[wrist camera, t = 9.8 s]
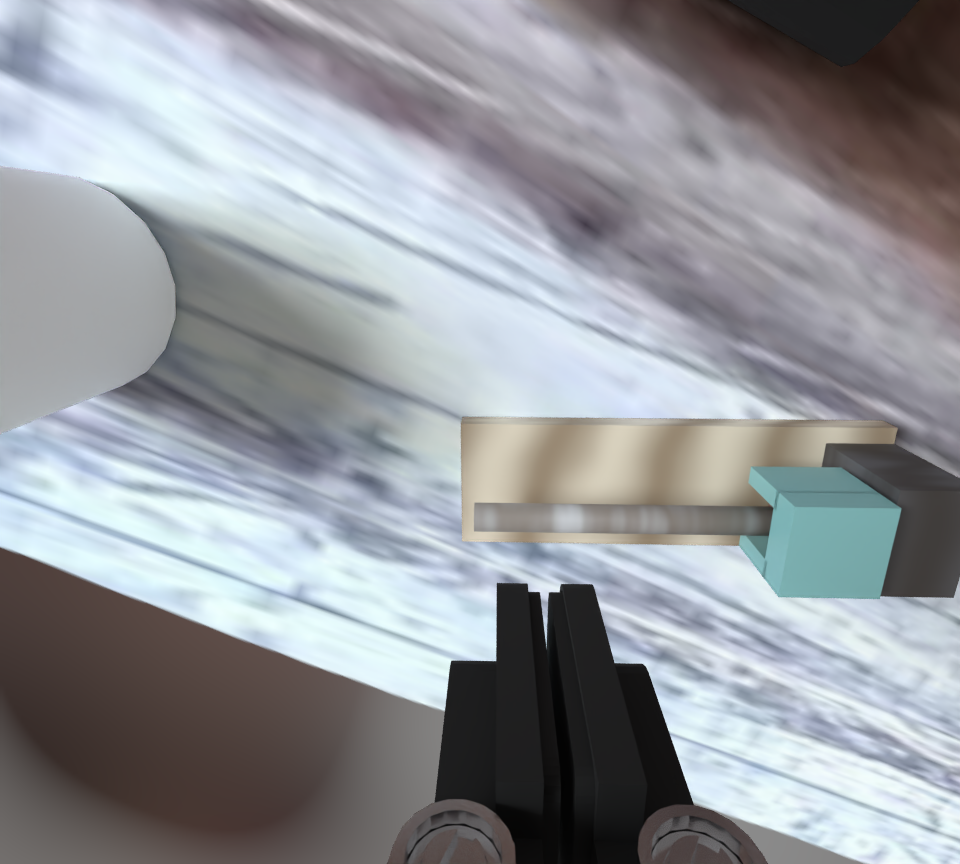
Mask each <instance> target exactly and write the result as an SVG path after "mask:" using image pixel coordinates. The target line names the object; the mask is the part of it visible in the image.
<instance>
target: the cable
mask: <svg viewBox="0 0 960 864" xmlns="http://www.w3.org/2000/svg"><path fill="white" fill-rule="evenodd" d="M728 1H730V2H732V3H733V4H735V5H737V6H738V7H740V8H742V9H744V10H745V11H747V12H749V13H750V14H752V15H754V16H755V17H757V18H759V19H761V20H762V21H764V22H766V23H767V24H769V25H771V26H772V27H774V28H776V29H778V30H779V31H781V32H783V33H784V34H786V35H788V36H789V37H791V38H793V39H795V40H796V41H798V42H800V43H801V44H803V45H805V46H806V47H808V48H810V49H812V50H813V51H815V52H817V53H818V54H820V55H822V56H823V57H825V58H827V59H829V60H830V61H832V62H834V63H835V64H837V65H839V66H840V67H843V66H847V65H850V64H854V63H855V62H857V61H858V60H859V59H860V58H861V57H863V56H864V55H865V54H866V53H867V52H868V51H870V50H871V49H872V48H873V47H874V46H875V45H877V44H878V43H879V42H880V41H881V40H882V39H884V37H885V36H886V35H887V34H888V33H889V32H890V31H891V30H892V29H893V28H894V27H895V26H896V25H897V24H898V23H899V22H900V20H901V19H902V18H903V17H904V16H905V15H906V14H907V13H908V12H909V11H910V10H911V9H912V8H913V7H914V6H915V4H916V3H917V2H918V1H919V0H728Z"/></svg>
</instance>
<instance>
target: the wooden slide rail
mask: <svg viewBox="0 0 960 864" xmlns="http://www.w3.org/2000/svg"><path fill="white" fill-rule="evenodd" d="M897 429H898V428H897V427H895V426H893V425H890V424H888V423H886V422H884V421H874V420H761V419H647V418H534V417H462V421H461V476H462V541H474V542H538V543H603V544H667V545H731V546H739V541H740V535H741V536H769V533H770V527H771V521H772V515H773V509H774V508H773V507H772V506H771V505H770V504H769V503H768V502H767V501H766V500H765V499H764V498H763V497H762V496H761V495H760V494H759V493H758V492H757V491H756V490H755V489H754V488H753V487H752V486H751V485H750V484H749V483H748V482H749V475H750V469H751V466H757V467H841V468H843V469H844V470H846V471H847V472H849V473H850V474H852V475H853V476H855V477H856V478H857V479H859V480H860V481H862V482H863V483H865V484H866V485H868V486H869V487H871V488H872V489H874V490H875V491H877V492H878V493H880V494H881V495H882V496H884V497H885V498H887V499H888V500H890V501H891V502H893V503H894V504H896V505H897V506H899V507H900V508H902V509H901V513H900V517H899V522H898V526H897V530H896V534H895V538H894V542H893V546H892V550H891V554H890V558H889V563H888V567H887V571H886V575H885V579H884V583H883V587H882V591H881V595H880V596H890V597H945V598H954V595H955V591H956V588H957V584H958V581H959V577H960V478H958V477H956V476H954V475H952V474H950V473H948V472H946V471H944V470H943V469H941V468H939V467H937V466H935V465H933V464H931V463H929V462H927V461H926V460H924V459H922V458H920V457H918V456H916V455H914V454H912V453H910V452H908V451H907V450H905V449H903V448H901V447H899V446H897V445H895V444H894V442H895V438H896V433H897Z"/></svg>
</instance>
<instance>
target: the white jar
mask: <svg viewBox="0 0 960 864" xmlns="http://www.w3.org/2000/svg"><path fill="white" fill-rule="evenodd" d="M175 318H176V299H175V283H174V280H173V277H172V274H171V271H170V268H169V264H168V261H167V258H166V255H165V253H164V251H163V250H162V248H161V247H160V245H159V243H158V242H157V240H156V239H155V237H154V236H153V234H152V233H151V231H150V230H149V228H148V227H147V225H146V223H145V222H144V221H143V220H142V219H140V218H139V217H138V216H137V215H136V214H135V213H134V212H133V211H132V210H130V209H129V208H128V207H127V206H126V205H125V204H124V203H123V202H121V201H120V200H119V199H118V198H117V197H116V196H115V195H114V194H112V193H110V192H108V191H106V190H104V189H102V188H100V187H98V186H96V185H94V184H92V183H90V182H88V181H86V180H84V179H82V178H80V177H74V176H67V175H61V174H54V173H48V172H41V171H34V170H27V169H20V168H13V167H5V166H0V434H2V433H4V432H7V431H9V430H12V429H14V428H17V427H20V426H22V425H25V424H27V423H30V422H32V421H35V420H37V419H40V418H42V417H45V416H47V415H50V414H52V413H55V412H57V411H60V410H63V409H65V408H68V407H70V406H73V405H75V404H78V403H80V402H83V401H85V400H88V399H90V398H93V397H95V396H98V395H100V394H103V393H106V392H108V391H111V390H113V389H116V388H118V387H121V386H123V385H125V384H126V383H128V382H130V381H132V380H133V379H135V378H137V377H139V376H140V375H142V374H144V373H146V372H147V371H148V370H149V369H150V367H151V366H152V365H153V364H154V362H155V361H156V360H157V359H158V358H159V356H160V355H161V354H162V353H163V351H164V350H165V348H166V346H167V343H168V340H169V337H170V334H171V330H172V327H173V324H174V321H175Z"/></svg>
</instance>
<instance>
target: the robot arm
mask: <svg viewBox="0 0 960 864" xmlns="http://www.w3.org/2000/svg"><path fill="white" fill-rule="evenodd" d="M387 864H768V863H767V861H766V859H765V858H764V856H763V854H762V853H761V851H760V850H759V849H758V847H757V846H756V845H755V843H754V842H753V841H752V839H751V838H750V837H749V836H748V835H747V834H746V833H745V832H744V831H743V830H741V829H740V828H739V827H738V826H737V825H736V824H735V823H733V822H732V821H731V820H729V819H727V818H725V817H723V816H722V815H720V814H718V813H716V812H714V811H712V810H709V809H705V808H702V807H699V806H695V805H694V804H693V801H692V798H691V795H690V792H689V789H688V786H687V784H686V781H685V778H684V775H683V772H682V769H681V766H680V763H679V760H678V757H677V754H676V751H675V749H674V746H673V743H672V740H671V737H670V734H669V731H668V728H667V725H666V722H665V719H664V716H663V714H662V711H661V708H660V705H659V702H658V699H657V696H656V693H655V690H654V687H653V684H652V681H651V679H650V676H649V673H648V671H647V668H646V667H645V666H644V665H643V664H621V663H614V660H613V656H612V652H611V649H610V645H609V641H608V637H607V634H606V630H605V626H604V623H603V619H602V615H601V612H600V608H599V604H598V601H597V597H596V593H595V589H594V587H593V585H592V584H561V587H560V592H549V598H548V623H547V650H546V641H545V633H544V624H543V615H542V607H541V598H540V592H528V584H518V583H497V647H496V661H451V665H450V672H449V681H448V690H447V699H446V707H445V716H444V725H443V734H442V743H441V752H440V760H439V769H438V779H437V787H436V797H435V803H432V804H430V805H428V806H427V807H425V808H423V809H421V810H420V811H418V812H416V813H415V814H414V815H413V816H412V817H411V818H410V819H409V820H408V822H407V823H406V824H405V825H404V826H403V827H402V828H401V830H400V832H399V834H398V836H397V838H396V841H395V842H394V844H393V847H392V851H391V854H390V856H389V859H388V863H387Z"/></svg>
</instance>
